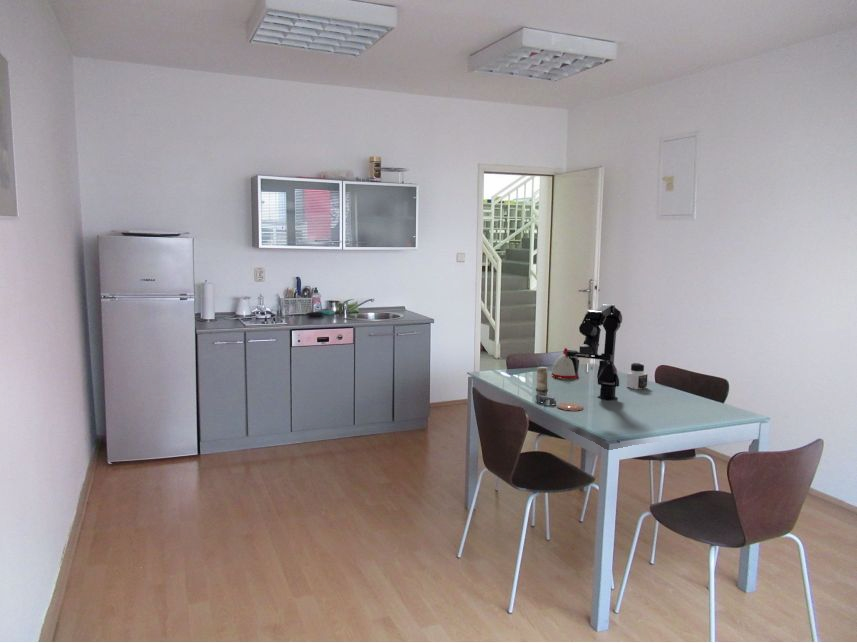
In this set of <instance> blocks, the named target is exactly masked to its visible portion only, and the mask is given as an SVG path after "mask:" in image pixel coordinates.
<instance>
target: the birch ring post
mask: <svg viewBox="0 0 857 643" xmlns="http://www.w3.org/2000/svg"><path fill="white" fill-rule="evenodd" d="M536 368H537V369H536V388H535V391H536V393H535V394H537V395H538V394H539V393H540V392H542V394H544V395H547V396H548V392H549V389H548V369H549V368H548V367H546V366H538V367H536ZM537 395H536V396H537Z"/></svg>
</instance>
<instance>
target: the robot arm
mask: <svg viewBox="0 0 857 643" xmlns="http://www.w3.org/2000/svg"><path fill="white" fill-rule="evenodd" d="M622 323H623V315H622V312H621V310H619V309H618V308H617V307H616V306H615V304H613V303H612V304H611V303H604V304H601V306H600V307H598V308H596V309H589V310H588V311H587V312H586V313H585V315H584V317H583V319H582V322H581V324H580V325H579V327H578V330H579V333H580V334H581V335H583V336H584V337H585V338H584V341H583V344H580V345H579V351H577V350H573V349H567V350H568V351H567V352H566V356H567V357H569V359H571V360H572V362H573V365H574V370H575V375H576V376H577V374H578V375H579V366H580V359H579V358H583V359H590V360H591V359H592V360H599V363H598V364H599V367H598V369H597V374H596V379H597V385H598V386H599V385H600V390H599V395H598V396H597V398H599V399H603V400H607V401H612V400H615V399H616V400H617V399H618V396H616V388H618V387H620V378H619V375H618V370H617V368H616V365H615V352H616V351H615V350H616V342H617V338H616V337H617V332H618V330H619V329H620V328H621V324H622ZM601 326H602V327H603V329H604V331H605V338H604V349H603V350H604V351H603V353H601V354H599V353H598V351H599V346H600V337H601V331H602V330H601Z"/></svg>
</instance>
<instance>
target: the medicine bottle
mask: <svg viewBox="0 0 857 643" xmlns="http://www.w3.org/2000/svg"><path fill="white" fill-rule="evenodd" d="M644 370H645V364H643V363H641V362H635V363H631V364H630V372H627V373H626V384H625V386H626V388H628V387H630V388H629V389H633V388H634V389H633V390H637V389H639V390H643V389H642V388H644V389H646V387H648V376H649V374H648V373H645V371H644Z"/></svg>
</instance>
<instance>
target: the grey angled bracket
mask: <svg viewBox="0 0 857 643" xmlns="http://www.w3.org/2000/svg"><path fill="white" fill-rule="evenodd" d="M544 400H546V401H549V405H550V404H556V405H557V400H556V399H555V397H553V396H548V395H547V396H544V394H542V392H540V393H539V394H538V396H537V398H536V403H537V402H538V403H537V404H540V403H541V402H543V403H544ZM541 404H542V403H541Z"/></svg>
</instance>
